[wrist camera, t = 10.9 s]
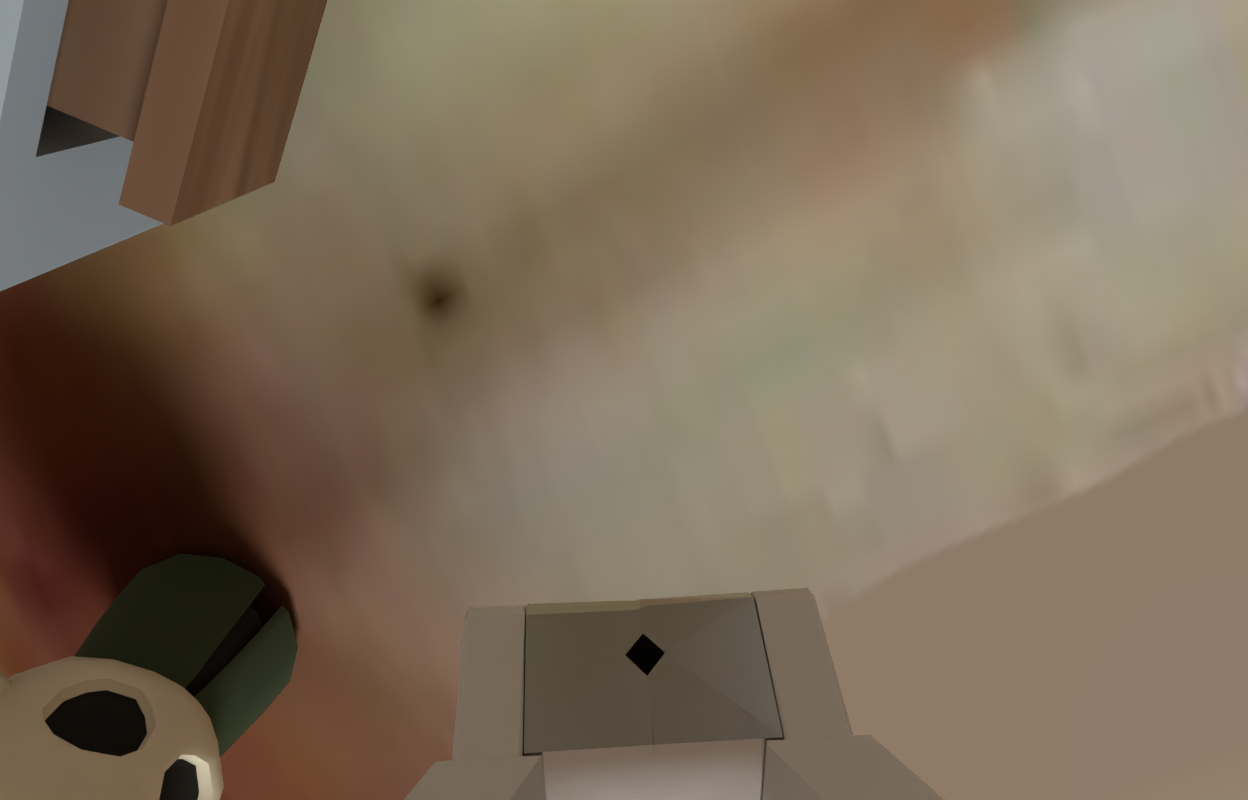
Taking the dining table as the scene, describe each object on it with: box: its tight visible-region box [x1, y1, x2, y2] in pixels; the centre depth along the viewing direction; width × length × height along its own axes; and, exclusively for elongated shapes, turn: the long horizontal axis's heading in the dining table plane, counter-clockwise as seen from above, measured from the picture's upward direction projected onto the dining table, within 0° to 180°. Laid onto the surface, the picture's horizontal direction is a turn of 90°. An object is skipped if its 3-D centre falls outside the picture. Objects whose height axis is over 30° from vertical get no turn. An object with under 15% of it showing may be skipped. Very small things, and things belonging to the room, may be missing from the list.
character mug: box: [0, 554, 298, 800], centre depth 33 cm, size 11×7×13 cm, turn 34°
